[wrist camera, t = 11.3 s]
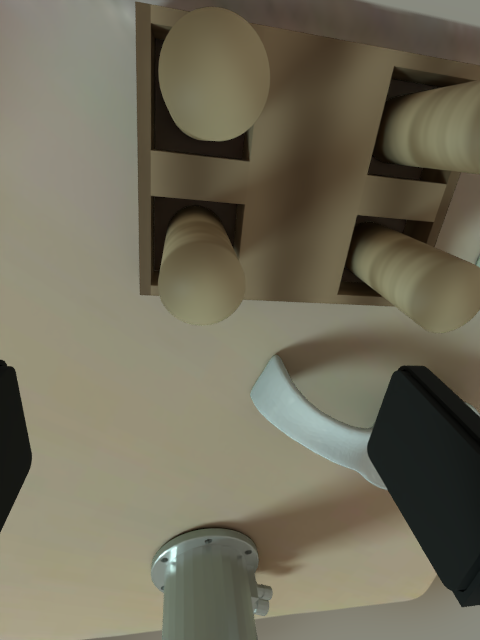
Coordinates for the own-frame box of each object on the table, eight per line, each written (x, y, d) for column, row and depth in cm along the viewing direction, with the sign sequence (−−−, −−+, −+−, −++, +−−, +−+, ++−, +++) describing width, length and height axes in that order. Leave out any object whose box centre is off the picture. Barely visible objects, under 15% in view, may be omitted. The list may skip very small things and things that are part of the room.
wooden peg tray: (461, 77, 23) (635, 38, 14) (392, 292, 29) (481, 357, 21) (141, 20, 19) (108, -80, 11) (144, 279, 26) (124, 351, 17)
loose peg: (234, 226, 25) (262, 274, 16) (204, 272, 26) (214, 338, 18) (186, 193, 24) (188, 225, 15) (156, 242, 25) (141, 299, 16)
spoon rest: (480, 395, 37) (541, 448, 31) (412, 471, 41) (453, 532, 35) (289, 319, 30) (318, 367, 23) (229, 421, 34) (240, 486, 27)
